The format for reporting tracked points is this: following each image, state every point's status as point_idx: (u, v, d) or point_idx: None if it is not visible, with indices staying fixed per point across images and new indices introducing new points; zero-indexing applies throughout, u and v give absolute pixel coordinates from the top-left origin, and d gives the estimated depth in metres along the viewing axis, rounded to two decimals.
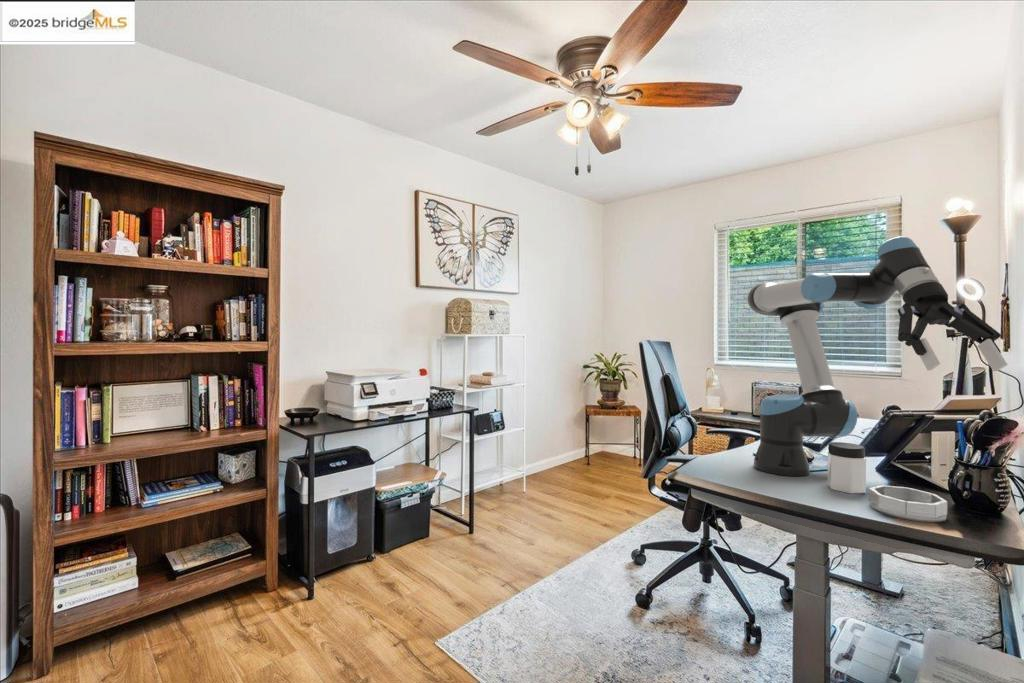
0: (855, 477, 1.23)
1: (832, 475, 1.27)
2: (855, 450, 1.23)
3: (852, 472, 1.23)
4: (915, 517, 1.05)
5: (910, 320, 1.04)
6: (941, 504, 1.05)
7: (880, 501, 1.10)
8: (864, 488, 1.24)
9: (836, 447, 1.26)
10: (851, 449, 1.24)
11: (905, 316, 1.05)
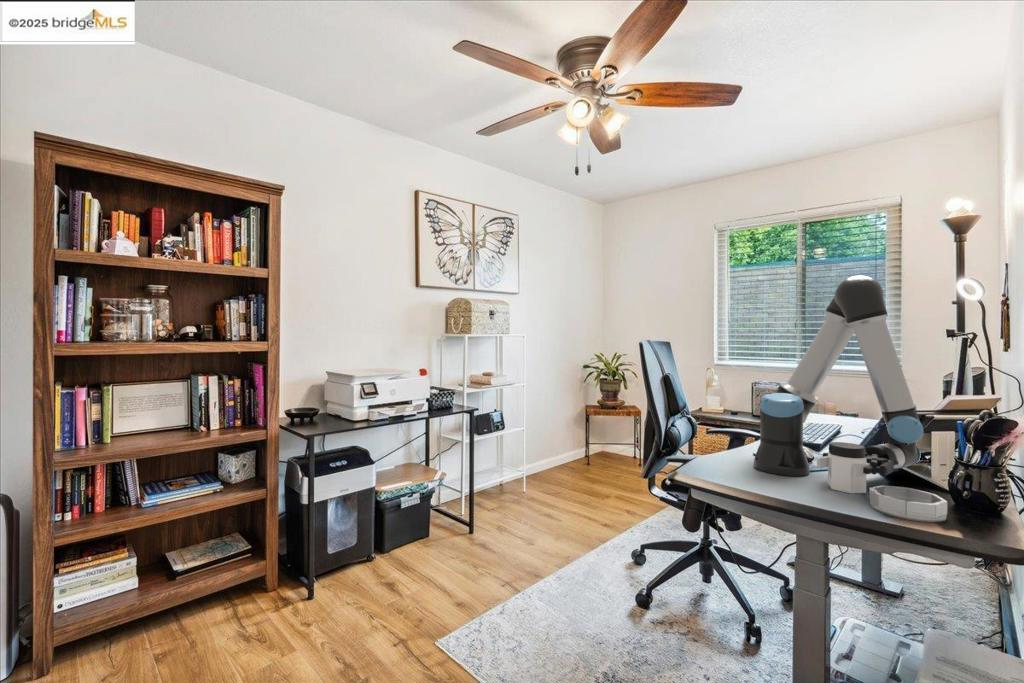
0: (856, 477, 1.23)
1: (832, 475, 1.26)
2: (856, 450, 1.23)
3: (852, 472, 1.23)
4: (915, 517, 1.05)
5: None
6: (941, 504, 1.05)
7: (880, 501, 1.10)
8: (864, 488, 1.24)
9: (837, 447, 1.26)
10: (852, 449, 1.23)
11: (891, 470, 1.25)
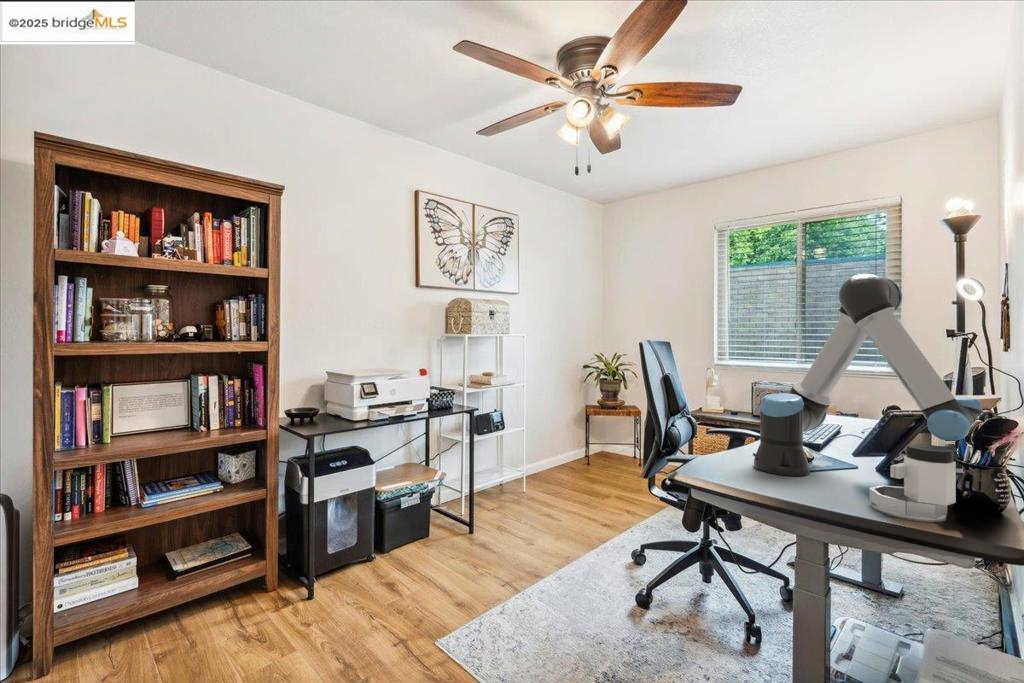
0: (949, 485, 1.03)
1: (921, 485, 1.05)
2: (949, 453, 1.03)
3: (947, 479, 1.03)
4: (915, 517, 1.05)
5: None
6: None
7: (880, 501, 1.10)
8: (954, 497, 1.05)
9: (926, 451, 1.05)
10: (945, 452, 1.03)
11: None
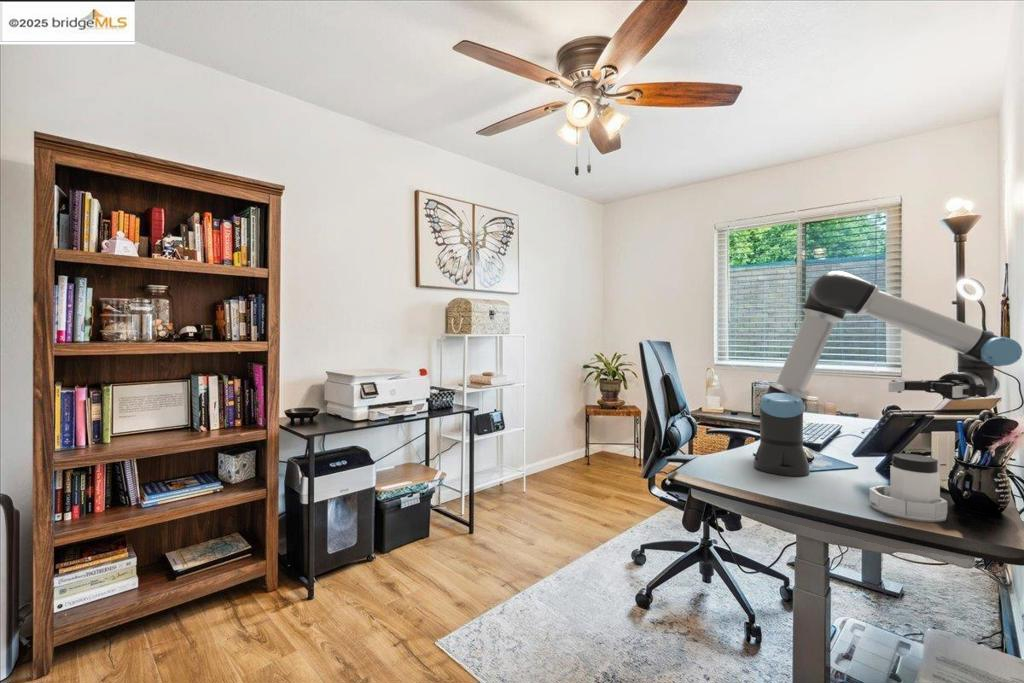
0: (933, 495, 1.06)
1: (905, 494, 1.08)
2: (933, 463, 1.06)
3: (931, 489, 1.06)
4: (915, 517, 1.05)
5: None
6: (941, 504, 1.05)
7: (880, 501, 1.10)
8: None
9: (910, 461, 1.08)
10: (929, 463, 1.06)
11: None
